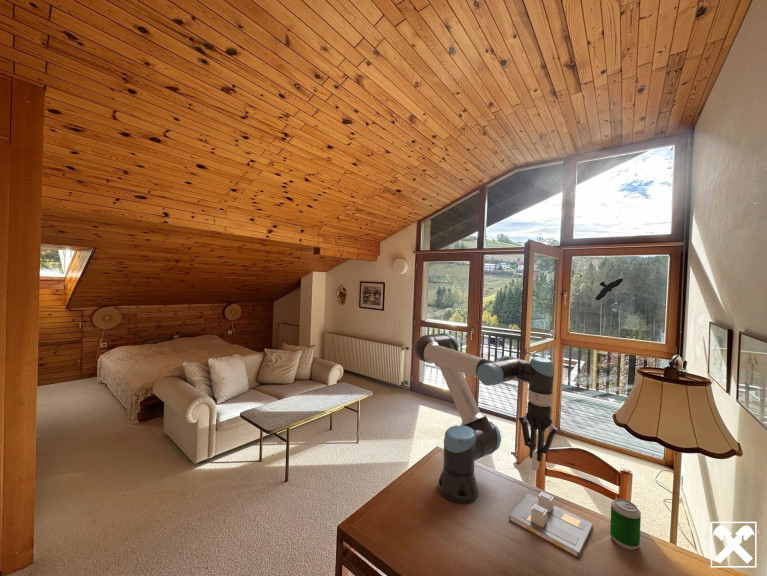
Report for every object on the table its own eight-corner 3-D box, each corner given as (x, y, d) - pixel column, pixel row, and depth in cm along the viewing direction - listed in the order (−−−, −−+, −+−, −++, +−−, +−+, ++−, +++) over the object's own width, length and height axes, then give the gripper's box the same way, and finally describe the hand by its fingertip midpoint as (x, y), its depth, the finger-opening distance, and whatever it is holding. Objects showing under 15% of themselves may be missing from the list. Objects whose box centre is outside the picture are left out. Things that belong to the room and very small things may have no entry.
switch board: (508, 520, 109) (508, 515, 109) (528, 497, 122) (528, 492, 122) (578, 558, 95) (578, 552, 95) (592, 528, 107) (592, 522, 107)
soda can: (645, 554, 97) (646, 515, 97) (617, 549, 98) (618, 510, 98) (631, 535, 104) (632, 498, 104) (605, 531, 106) (606, 495, 106)
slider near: (530, 520, 107) (531, 507, 107) (534, 515, 109) (535, 503, 109) (543, 527, 104) (543, 514, 104) (547, 521, 106) (547, 509, 106)
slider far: (538, 506, 114) (538, 494, 114) (541, 502, 116) (541, 490, 116) (550, 512, 111) (550, 500, 111) (553, 508, 113) (553, 495, 113)
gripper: (516, 399, 115) (512, 463, 115) (555, 411, 105) (550, 481, 106) (525, 394, 120) (521, 456, 121) (563, 406, 110) (558, 473, 111)
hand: (535, 468), depth 113 cm, fingers closed
